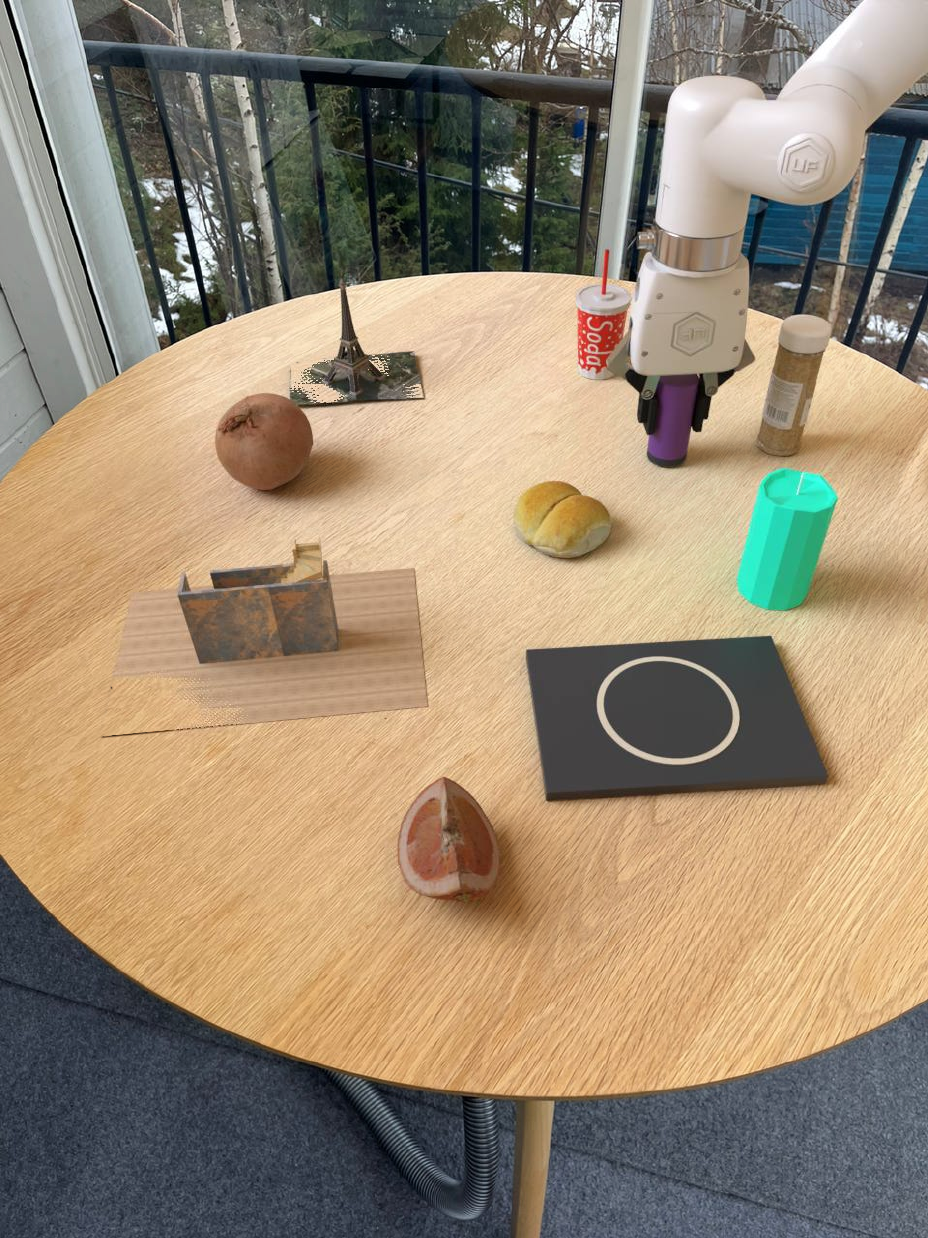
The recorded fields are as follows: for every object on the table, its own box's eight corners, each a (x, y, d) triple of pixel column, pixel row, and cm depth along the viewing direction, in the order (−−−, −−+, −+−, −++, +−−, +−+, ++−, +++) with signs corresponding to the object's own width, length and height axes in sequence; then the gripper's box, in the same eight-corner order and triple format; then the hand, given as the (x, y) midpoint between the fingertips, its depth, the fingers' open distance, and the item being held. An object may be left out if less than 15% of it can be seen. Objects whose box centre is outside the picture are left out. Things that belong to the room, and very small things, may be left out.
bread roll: (555, 491, 92) (557, 457, 90) (623, 534, 87) (627, 499, 85) (492, 526, 89) (492, 492, 86) (559, 573, 84) (562, 538, 81)
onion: (259, 523, 95) (210, 472, 86) (232, 455, 99) (182, 400, 90) (341, 477, 94) (300, 422, 85) (311, 411, 98) (268, 352, 89)
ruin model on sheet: (413, 568, 85) (406, 479, 78) (427, 706, 73) (420, 616, 66) (131, 592, 83) (99, 504, 76) (100, 737, 71) (58, 649, 65)
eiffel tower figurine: (416, 354, 112) (409, 243, 103) (424, 398, 105) (417, 283, 96) (290, 365, 111) (271, 253, 102) (290, 410, 104) (270, 295, 95)
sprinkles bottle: (809, 450, 96) (843, 328, 87) (773, 462, 95) (804, 339, 85) (779, 428, 99) (809, 308, 90) (745, 440, 98) (771, 318, 88)
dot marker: (681, 443, 97) (693, 365, 91) (690, 465, 94) (703, 386, 88) (643, 445, 97) (652, 367, 91) (650, 468, 94) (661, 388, 88)
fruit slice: (510, 921, 60) (511, 880, 56) (405, 935, 59) (399, 895, 56) (490, 811, 66) (490, 768, 62) (395, 823, 65) (389, 781, 62)
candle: (803, 617, 79) (840, 503, 71) (731, 601, 80) (758, 488, 72) (810, 572, 83) (846, 459, 74) (741, 558, 84) (768, 445, 76)
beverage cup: (560, 373, 108) (567, 254, 99) (587, 351, 112) (595, 233, 102) (607, 388, 106) (619, 267, 96) (633, 365, 109) (646, 246, 100)
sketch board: (769, 643, 77) (771, 634, 76) (825, 784, 67) (829, 775, 66) (525, 657, 76) (525, 648, 76) (546, 801, 66) (546, 792, 66)
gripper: (607, 266, 78) (593, 452, 91) (807, 255, 78) (764, 442, 91) (593, 230, 83) (581, 410, 96) (780, 220, 84) (744, 401, 96)
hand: (671, 424), depth 93 cm, fingers closed on dot marker, 4 cm apart
